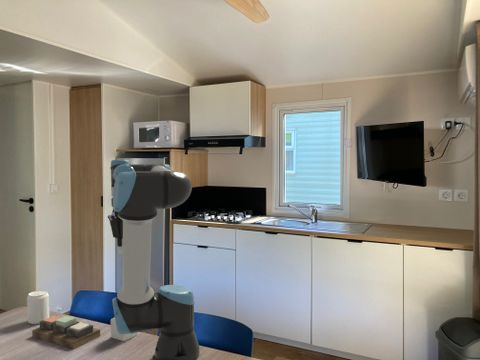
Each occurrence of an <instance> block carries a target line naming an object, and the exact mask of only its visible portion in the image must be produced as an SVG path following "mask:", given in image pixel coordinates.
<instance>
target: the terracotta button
mask: <svg viewBox="0 0 480 360" xmlns="http://www.w3.org/2000/svg"><path fill="white" fill-rule="evenodd" d="M60 318H61V316H58V317H57V315H52V316H49V318H47V319H44V320H43V322H46V323H50V324H52V323H55V322H56V320H57V319H60Z"/></svg>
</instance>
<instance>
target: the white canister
mask: <svg viewBox="0 0 480 360" xmlns="http://www.w3.org/2000/svg"><path fill="white" fill-rule="evenodd" d="M27 295H28V296H27V298H26V301H27V302H26V305H27V306H26V309H27V323H28V324H31V325H40V321H42V320H44V319H47V318H49V317H50V295H49V293H48V291H47V290H35V291H31V292H30V293H28V294H27Z"/></svg>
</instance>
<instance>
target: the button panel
mask: <svg viewBox="0 0 480 360" xmlns="http://www.w3.org/2000/svg"><path fill="white" fill-rule="evenodd" d="M56 316H57V315H56ZM57 317H59V316H57ZM60 317H61V316H60ZM62 317H63V316H62ZM62 317H61V318H62ZM80 322H81V323H83V322H82V321H78V320H76V323H74V324H72V325H69V326H67V327H61V326H57V325H56V322H55V323H52V324H50V323H46V322H43V320H42V321H40V324H39V327H37V328H34V329H32V332H31V335H32V338H37V339H39V340H43V341H46V342H49V343H52V344H55V345H60V346H63V347H66V348H70V349H73V350H75V349H77V348H79V347H81V346H83V345H86V344H88V343H90V342H91V341H93V340H95V339H98V338H99V337H101V329H99V328H96V327H94V325H93V324H89V323H88V324H89V325H90V326H89V327H87V328H85V329H83V330H80V331H76V330H73V329H70V327H71V326H73V325H76V324H78V323H80ZM84 323H85V324H87V323H86V322H84Z"/></svg>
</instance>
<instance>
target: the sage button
mask: <svg viewBox="0 0 480 360" xmlns="http://www.w3.org/2000/svg"><path fill="white" fill-rule="evenodd" d="M76 321H77V319H76V317H74V316H69V315H65V316H62V318H60V319H57V320H56V325H57V326H61V327H67V326H69V325H72V324H74V323H76Z"/></svg>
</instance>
